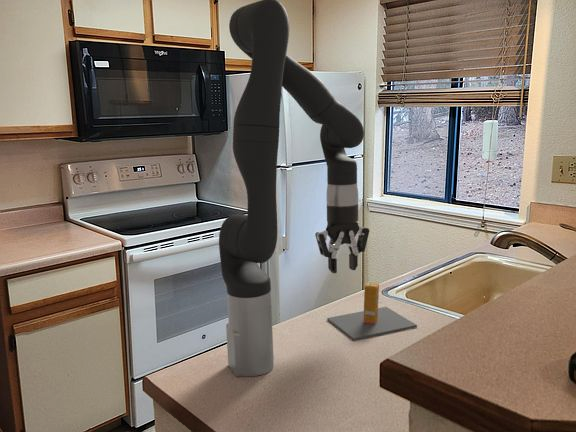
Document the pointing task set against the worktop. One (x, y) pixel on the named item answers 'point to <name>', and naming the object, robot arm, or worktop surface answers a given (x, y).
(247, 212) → the robot arm
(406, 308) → the worktop surface
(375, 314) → the supplement box
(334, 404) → the worktop surface
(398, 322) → the mat
